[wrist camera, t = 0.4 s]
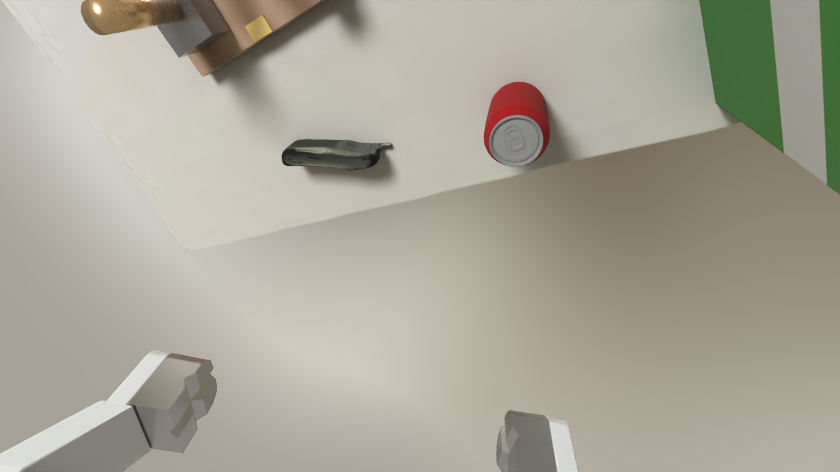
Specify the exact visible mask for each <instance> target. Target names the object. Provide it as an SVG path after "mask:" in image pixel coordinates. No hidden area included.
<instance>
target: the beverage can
mask: <svg viewBox="0 0 840 472" xmlns="http://www.w3.org/2000/svg"><path fill="white" fill-rule="evenodd" d="M549 135H550V132H549V124H548V117H547V111H546V106H545V101H544V98H543V96H542V94H541V93H540V91H539V90H538V89H537V88H536V87H534V86H533V85H531V84H528V83H525V82H514V83H510V84H507V85H505V86H504V87H502V88H501V89H500V90H498V92H497V93H496V94H495V95H494V97H493V99H492V101H491V104H490V108H489V112H488V116H487V120H486V125H485V131H484V143H485V147H486V149H487V151H488V153H489V154H490V155H491V157H492V158H493V159H495V160H496V161H497V162H499V163H501V164H503V165H507V166H511V167H519V166H524V165H527V164H529V163H531V162H533V161H535V160H536V159H537V158H538V157H540V156H541V155H542V153H543V152H544V151H545V149H546V147H547V145H548V142H549Z"/></svg>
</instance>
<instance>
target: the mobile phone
mask: <svg viewBox="0 0 840 472" xmlns="http://www.w3.org/2000/svg"><path fill="white" fill-rule="evenodd" d="M390 147H391V143H359V142H355V141H351V140H313V139H304V140H297V141H295V142H294V143H292V144H291V145H290V146H289V147H287V148H286V149H285V150H284V151H283V153H282V162H283V164H284V165H286V166H313V167H329V168H335V169H341V170H358V169H363V168H369V167H371V166H373V165H375V164H376V163H377V162H378V160H379V158H380V150H381V149H382V148H390Z"/></svg>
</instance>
